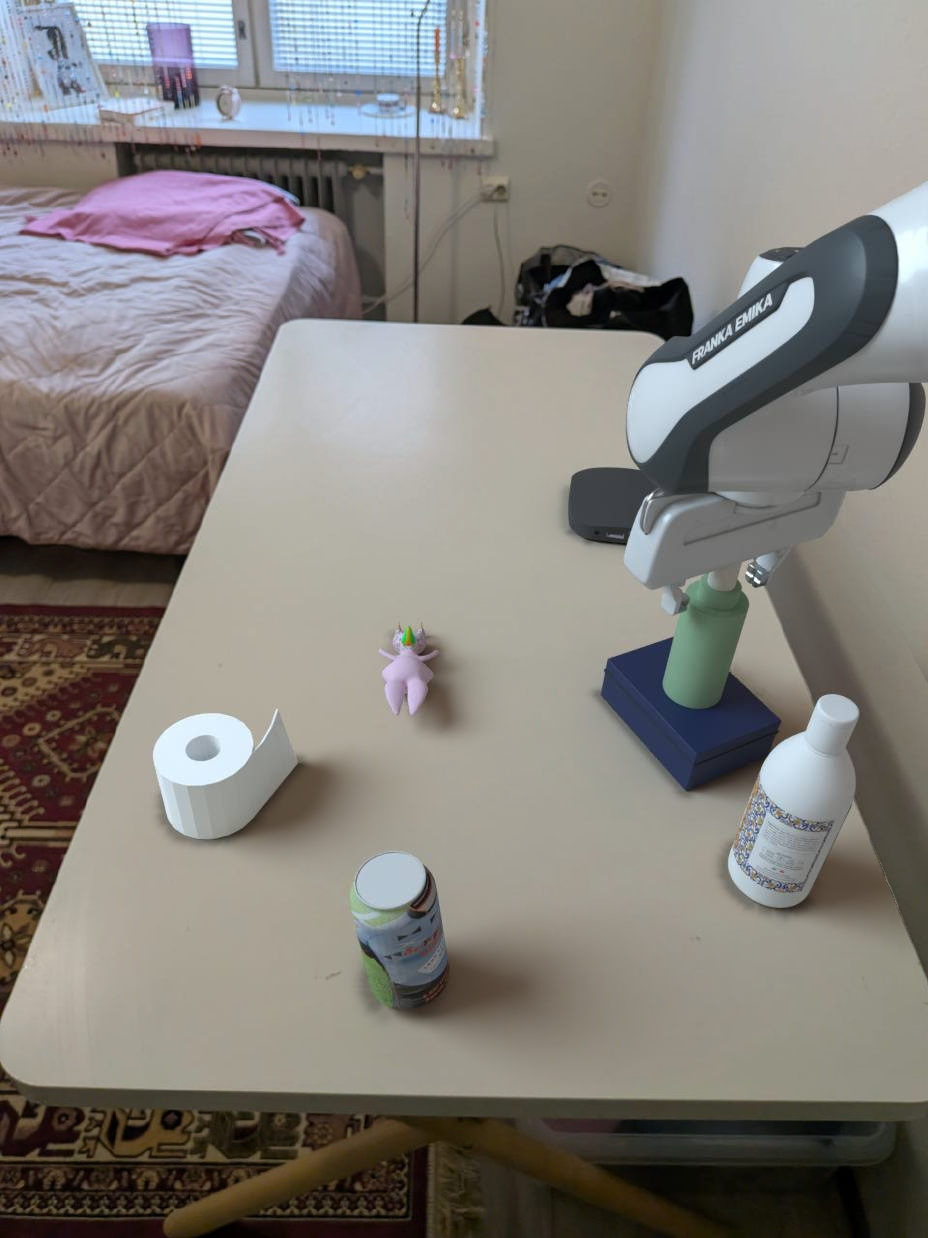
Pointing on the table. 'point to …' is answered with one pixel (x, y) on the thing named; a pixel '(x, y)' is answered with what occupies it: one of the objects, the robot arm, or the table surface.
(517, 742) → the table surface
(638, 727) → the case
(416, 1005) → the beverage can
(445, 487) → the table surface
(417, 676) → the pink toy figurine
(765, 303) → the robot arm
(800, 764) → the bath foam
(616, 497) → the media streaming box
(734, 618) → the bottle
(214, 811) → the toilet paper
